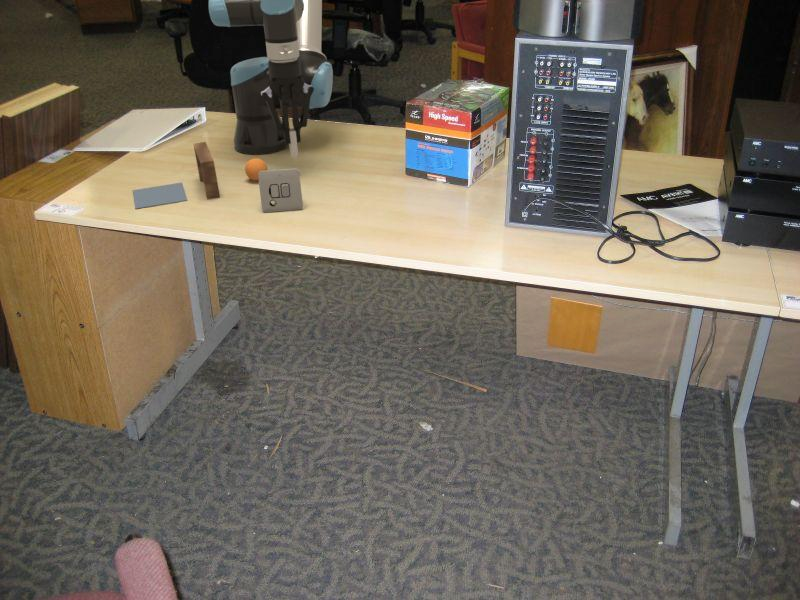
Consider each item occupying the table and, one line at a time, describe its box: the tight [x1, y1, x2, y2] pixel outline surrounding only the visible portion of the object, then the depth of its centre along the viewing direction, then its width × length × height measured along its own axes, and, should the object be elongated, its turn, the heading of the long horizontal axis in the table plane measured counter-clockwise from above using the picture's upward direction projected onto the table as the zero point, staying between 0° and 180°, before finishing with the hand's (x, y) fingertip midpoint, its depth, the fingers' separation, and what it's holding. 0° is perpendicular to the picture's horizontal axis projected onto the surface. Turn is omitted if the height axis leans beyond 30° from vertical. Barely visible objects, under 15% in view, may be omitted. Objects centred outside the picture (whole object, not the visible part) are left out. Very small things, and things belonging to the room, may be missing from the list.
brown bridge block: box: [192, 141, 221, 200], centre depth 182 cm, size 3×14×9 cm, turn 20°
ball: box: [244, 157, 269, 182], centre depth 186 cm, size 6×6×6 cm
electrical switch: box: [258, 167, 304, 213], centre depth 171 cm, size 9×5×9 cm, turn 96°
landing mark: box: [131, 182, 188, 210], centre depth 181 cm, size 12×12×1 cm
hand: (294, 155), depth 187 cm, fingers closed
